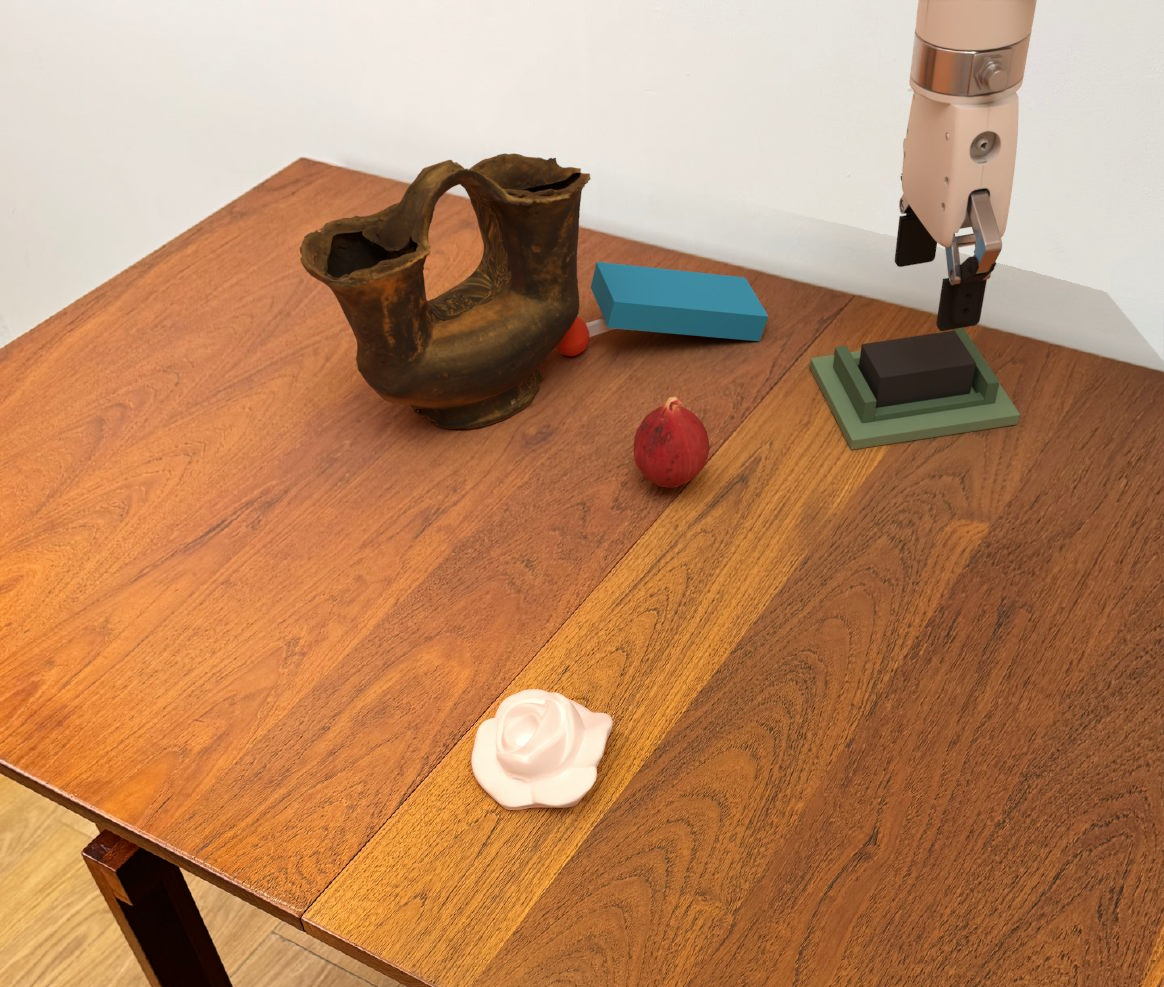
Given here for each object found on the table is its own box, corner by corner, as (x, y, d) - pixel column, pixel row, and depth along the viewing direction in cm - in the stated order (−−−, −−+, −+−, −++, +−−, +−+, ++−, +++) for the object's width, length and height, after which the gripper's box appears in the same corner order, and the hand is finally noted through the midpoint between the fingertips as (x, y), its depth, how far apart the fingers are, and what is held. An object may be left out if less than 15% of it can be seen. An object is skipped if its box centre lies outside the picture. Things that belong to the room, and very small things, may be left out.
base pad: (965, 344, 109) (971, 313, 107) (1018, 424, 102) (1026, 393, 99) (809, 368, 108) (812, 336, 106) (850, 450, 101) (854, 419, 99)
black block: (948, 361, 106) (955, 329, 104) (970, 395, 103) (976, 363, 101) (857, 375, 106) (861, 343, 103) (875, 409, 102) (880, 377, 100)
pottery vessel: (390, 488, 101) (339, 255, 86) (319, 430, 107) (260, 201, 91) (624, 365, 110) (616, 134, 95) (548, 317, 116) (528, 92, 101)
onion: (675, 519, 97) (675, 432, 91) (619, 490, 99) (615, 403, 93) (722, 482, 99) (725, 395, 93) (667, 454, 102) (666, 368, 96)
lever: (722, 347, 119) (540, 331, 114) (745, 277, 114) (555, 257, 109) (744, 387, 115) (556, 372, 109) (768, 316, 110) (572, 297, 104)
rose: (647, 735, 77) (508, 801, 75) (648, 780, 81) (515, 844, 78) (569, 638, 83) (437, 696, 80) (573, 684, 86) (447, 741, 84)
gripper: (1075, 102, 79) (1024, 345, 92) (976, 4, 90) (943, 233, 103) (960, 121, 79) (925, 361, 92) (874, 20, 90) (854, 248, 103)
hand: (935, 293), depth 98 cm, fingers open, 9 cm apart
